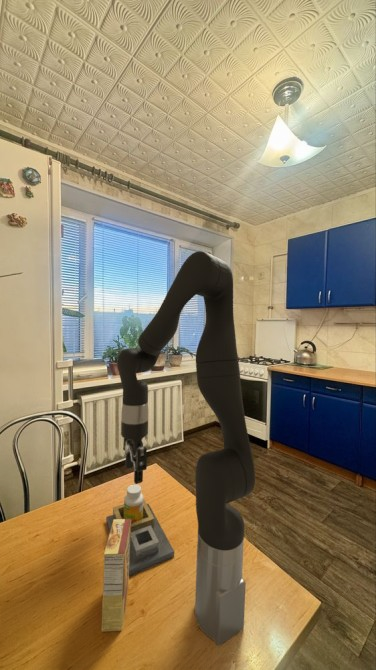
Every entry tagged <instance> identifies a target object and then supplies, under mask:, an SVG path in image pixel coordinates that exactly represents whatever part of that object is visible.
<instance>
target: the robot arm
mask: <svg viewBox="0 0 376 670" xmlns="http://www.w3.org/2000/svg"><path fill="white" fill-rule="evenodd" d="M233 275H234V274H233V271H232V269H231V267H230V266H229V264H228V263H227V262H226V261H224V260H222V259H220V258H219V257H218V256H215V255H212V254H211V253H208V252H206V251H201V250H198V251H195V252H192V253H191V254H190V255H189V256H188V257H187V258H186V259H185V260H184V262H183V264H182V265H181V267H180V268H179V270H178V272H177V274H176V275H175V277H174V279H173V281H172V284H171V285H170V287H169V289H168V291H167V293H166V295H165V297H164V299H163V301H162V303H161V304H160V307H159V308H158V311H157V312H156V313H155V315H154V316H153V318H152V319H151V320H150V322H149V323H148V324H147V326H146V327H145V328H144V329H143V331H142V332H141V334H140V336H139V337H138V340H137V344H138V347H137V348H124V349H122V350H121V351H120V352H119V354H118V357H117V360H116V361H117V362H116V364H117V365H116V366H117V369H118V375H119V379H120V382H121V385H122V405H121V412H120V413H121V421H120V422H121V423H120V426H121V427H120V435H121V437H122V438H123V447H122V449H123V451H124V455H125V468H126V470H127V469H132V468H133V470H134V471H133V474H134V475H133V483H134V485H139V484H141V483H143V481H144V479H143V478H144V474H143V473H144V471H145V470H147V466H148V465H147V456H148V454H147V453H148V452H147V450H148V449H147V447H146V446H144V442H143V441H142V440H143V439H144V438H145V437H147V435H148V433H149V403H148V402H149V401H148V400H149V386H148V383H147V382H146V381H143V380H138V376H137V374H140V373H145V372H149V371H150V370H151V369H152V368H154V366H155V365H156V363H157V361H158V359H159V357H160V355H161V352H162V350H164V348H165V347H166V346H167V344H168V343H169V342H170V341H172V339H173V338H174V335H175V334H176V332H177V331H178V329H179V328H178V327H179V322H180V317H181V314H182V311H183V310H184V307H185V306H187V305H186V304H188V303H189V302H190V300H191V299H192V298H194V297H195V296H196V295H197V296H200V297H203V300H204V301H203V302H204V307H205V308H204V309H205V324H204V328H203V331H202V334H201V337H200V339H199V342H198V345H197V348H196V351H195V352H196V353H195V368H196V369H195V371H196V381H197V383H196V384H197V386H198V390H199V392H200V394H201V395H202V397H203V398H204V400H205V402H206V404H208V406H209V407H210V409H211V411H212V412H213V413H214V415H215V416H216V418H217V420H218V423H219V425H220V429H221V434H222V438H223V448H222V449H219V450H213V451H210V452H207V453H203V454H202V455H200V456H199V458H198V459H197V462H196V465H195V512H196V519H197V542H196V544H197V546H196V569H195V570H196V571H195V574H196V575H195V598H194V599H195V601H194V614H195V620H196V623H197V625H198V627H199V629H200V630H201V631H202V632H203V633H204V634H205V635H206V636H207V637H209V638H211V639H212V640H214V641H215V643H216V645H217V646H221V645H222V644H224V643H225V642H226V641H228V640H229V639H231V638H232V637H235V635H237V634H238V633H240V632H241V631H243V630H244V627H245V610H246V609H245V608H246V607H245V606H246V605H245V604H246V585H247V584H246V580H245V578H244V577H243V568H244V567H243V566H244V563H243V562H244V548H245V547H244V545H245V544H244V542H245V521H244V519H243V516H242V515H241V513H240V512H239V511H238V509H236V508H234V507H233V506H231V505H229V503H231V502H234V501H237V500H239V499H242V498H244V497H246V496H248V495H250V494H251V493H252V492H253V490H254V489H255V485H256V469H255V462H254V458H253V453H252V448H251V443H250V437H249V433H248V429H247V428H248V427H247V423H246V416H245V409H244V403H243V402H244V401H243V394H242V385H241V384H242V383H241V372H240V363H239V354H238V349H237V339H236V338H237V337H236V336H237V335H236V328H235V326H236V325H235V320H234V319H235V318H234V277H233Z"/></svg>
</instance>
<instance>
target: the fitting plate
mask: <svg viewBox="0 0 376 670" xmlns="http://www.w3.org/2000/svg"><path fill="white" fill-rule="evenodd" d="M105 518H106V519H105V522H106V523H105V524H106V526H107V530H108V533H110V530H111V526H112V522H113V520H114V519H124V503H122V504H119V505H117V506H114V507H112V514H110V515H107V516H106V517H105ZM174 557H175V549H174V548H173V546H172V544H171V542H170V541H169V539H168V537H167V535H166V533H165V532H164V529H163V527H162V526H161V524H160V522H159V521H158V519H157V517H156V515H155V513H154V511H153V509H152V507H151V506H150V503H147V502H146V500H145V498H144V497H143V519H142V520H139V521H136V522H133V523H131V535H130V558H129V578H130V577H132V576H135V575H136V574H139V573H141V572H143V571H146V570H148V569H150V568H153V567H155V566H157V565H160V564H162V563H164V562H167V561H168V560H170V559H173V558H174Z"/></svg>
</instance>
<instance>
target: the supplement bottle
mask: <svg viewBox="0 0 376 670" xmlns="http://www.w3.org/2000/svg"><path fill="white" fill-rule="evenodd" d="M143 498H144V494H143V493H142V487H141V485H139V484H131V485H129V486H128V487H127V489H126V495H125V496H124V499H123V500H124V501H123V502H124V503H123V504H124V519H131V523H133V522H136V521H139V520H142V519H143Z"/></svg>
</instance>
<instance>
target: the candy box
mask: <svg viewBox="0 0 376 670" xmlns="http://www.w3.org/2000/svg"><path fill="white" fill-rule="evenodd" d="M108 533H109V532H108ZM130 535H131V519H114V520H113V522H112V526H111V530H110V533H109V534H108V536H107V537H108V538H107V540H106V541H107V542H106V545H105V549H104V552H103V580H102V582H103V583H102V605H101V606H102V607H101V633H104V632H105V633H107V632H119V631H120V632H121V631H122V630H123V626H124V625H123V624H124V621H125V620H124V618H125V612H126V605H127V600H128V591H129V581H130V579H129V578H130V577H129V558H130Z"/></svg>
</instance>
